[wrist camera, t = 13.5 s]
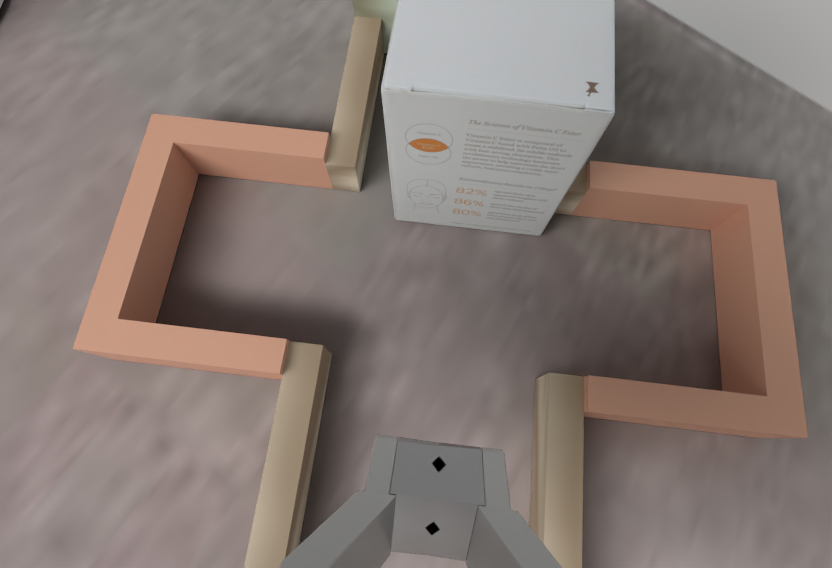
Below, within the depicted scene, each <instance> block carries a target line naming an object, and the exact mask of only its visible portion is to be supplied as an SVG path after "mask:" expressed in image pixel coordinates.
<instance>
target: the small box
mask: <svg viewBox="0 0 832 568" xmlns="http://www.w3.org/2000/svg"><path fill="white" fill-rule="evenodd" d="M381 95H382V104H383V112H384V122H385V131H386V141H387V151H388V161H389V171H390V179H391V188H392V198H393V206H394V217H395V219H396V220H401V221H411V222H420V223H429V224H437V225H446V226H456V227H465V228H473V229H482V230H491V231H501V232H510V233H518V234H527V235H535V236H540V235H541V234H542V233H543V231H544V229H545V228H546V226H547V224H548V223H549V221H550V219H551V218H552V216H553V214H554V213H555V211H556V209H557V208H558V206H559V204H560V203H561V201H562V199H563V198H564V196H565V194H566V193H567V191H568V190H569V188H570V186H571V185H572V183H573V182H574V180H575V179H576V177H577V175H578V174H579V172H580V170H581V169H582V167H583V166H584V164H585V163H586V161H587V159H588V158H589V156H590V155H591V153H592V151H593V150H594V148H595V147H596V145H597V143H598V142H599V140H600V138H601V137H602V135H603V133H604V132H605V130H606V129H607V127H608V125H609V123H610V122H611V120H612V119H613V117H614V115H615V0H397V5H396V10H395V16H394V21H393V26H392V32H391V37H390V42H389V47H388V53H387V58H386V63H385V69H384V74H383V79H382V85H381Z"/></svg>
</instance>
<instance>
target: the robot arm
mask: <svg viewBox="0 0 832 568" xmlns="http://www.w3.org/2000/svg"><path fill="white" fill-rule="evenodd" d="M3 1H4V0H0V8H1V6H2V3H3ZM391 552H401V553H411V554H421V555H428V554H429V555H430V556H436V557H442V558H449V559H455V560H461V561H466V564H467V566H468V568H562V567H561V565H560V564H559V563H558V562H557V560H556V559H555V558H554V557H553V555H552V554H551V553H550V551H549V550H548V549H547V548H546V546H545V545H544V544H543V543H542V541H541V540H540V539H539V537H538V536H537V535H536V534H535V532H534V531H533V530H532V529H531V527H530V526H529V525H528V524H527V522H526V521H525V520H524V518H523V517H522V516H521V515H520V513H519V512H518V511H515V510H511V505H510V497H509V488H508V479H507V471H506V462H505V454H504V452H503V450H501V449H492V448H483V447H481V448H480V447H474V446H465V445H457V444H448V443H437V442H430V441H423V440H416V439H410V438H403V437H393V436H387V435H380V434H377V436H376V438H375V441H374V446H373V451H372V456H371V460H370V465H369V470H368V475H367V480H366V484H365V489H364V491H357V492H356V493H355V494H353V495H352V496H351V497H350V498H349V499H348V500H347V501H346V502H345V503H344V504H343V505H342V506H341V507H340V508H339V509H337V510H336V511H335V512H334V513H333V514H332V515H331V516H330V517H329V518H328V519H327V520H326V521H325V522H324V523H322V524H321V525H320V526H319V527H318V528H317V529H316V530H315V531H314V532H313V533H312V534H311V535H310V536H309V537H307V538H306V539H305V540H304V541H303V542H302V543H301V544H300V545H299V546H298V547H297V548H296V549H295V550H294V551H292V552H291V553H290V554H289V555H288V556H287V557H286V558H285V559H284V560H283V561H282V562H281V564H280V567H279V568H380V567H381V566H382V565H383V563H384V562H385V561H386V559H387V558H388V557H389V555H390V553H391Z"/></svg>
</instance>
